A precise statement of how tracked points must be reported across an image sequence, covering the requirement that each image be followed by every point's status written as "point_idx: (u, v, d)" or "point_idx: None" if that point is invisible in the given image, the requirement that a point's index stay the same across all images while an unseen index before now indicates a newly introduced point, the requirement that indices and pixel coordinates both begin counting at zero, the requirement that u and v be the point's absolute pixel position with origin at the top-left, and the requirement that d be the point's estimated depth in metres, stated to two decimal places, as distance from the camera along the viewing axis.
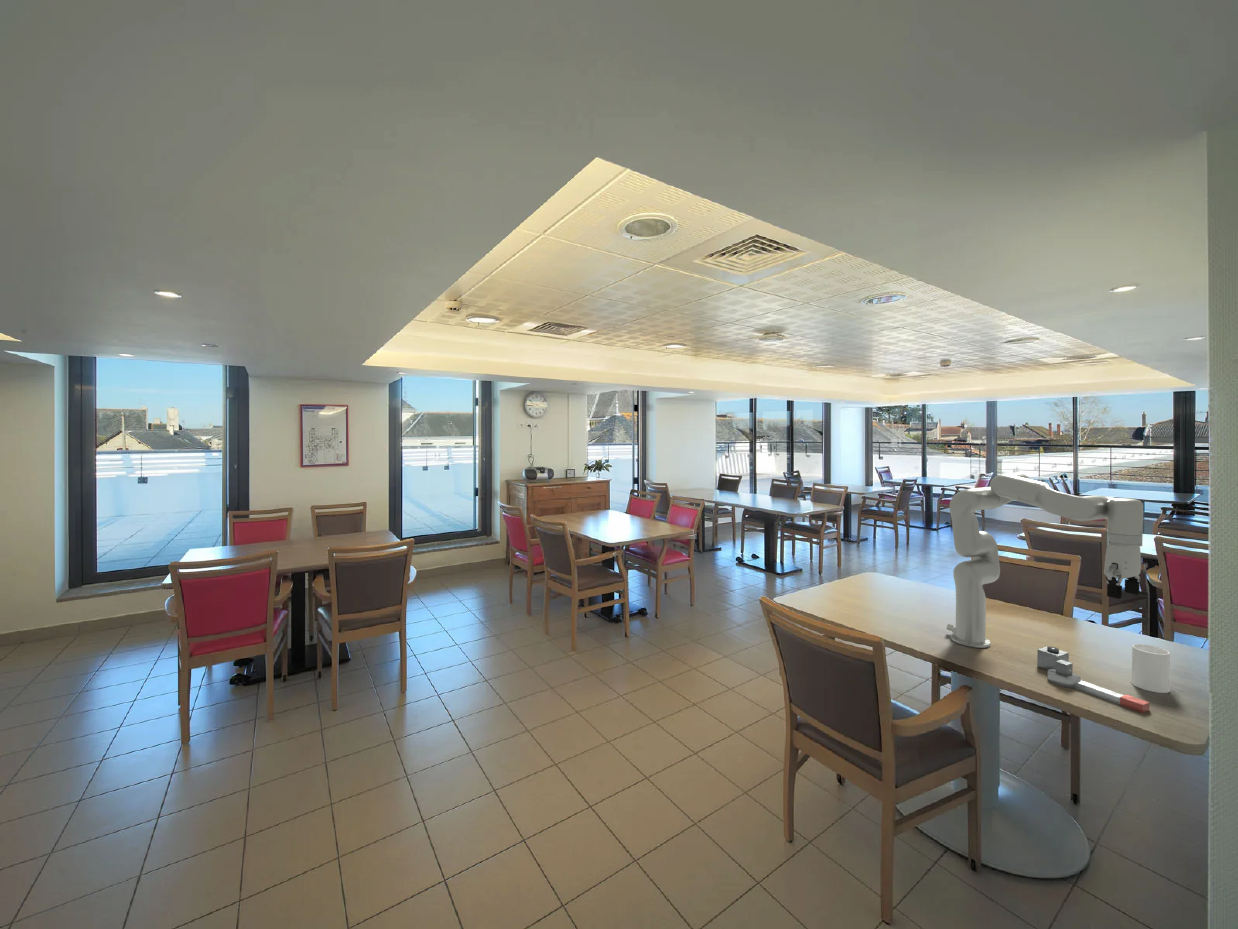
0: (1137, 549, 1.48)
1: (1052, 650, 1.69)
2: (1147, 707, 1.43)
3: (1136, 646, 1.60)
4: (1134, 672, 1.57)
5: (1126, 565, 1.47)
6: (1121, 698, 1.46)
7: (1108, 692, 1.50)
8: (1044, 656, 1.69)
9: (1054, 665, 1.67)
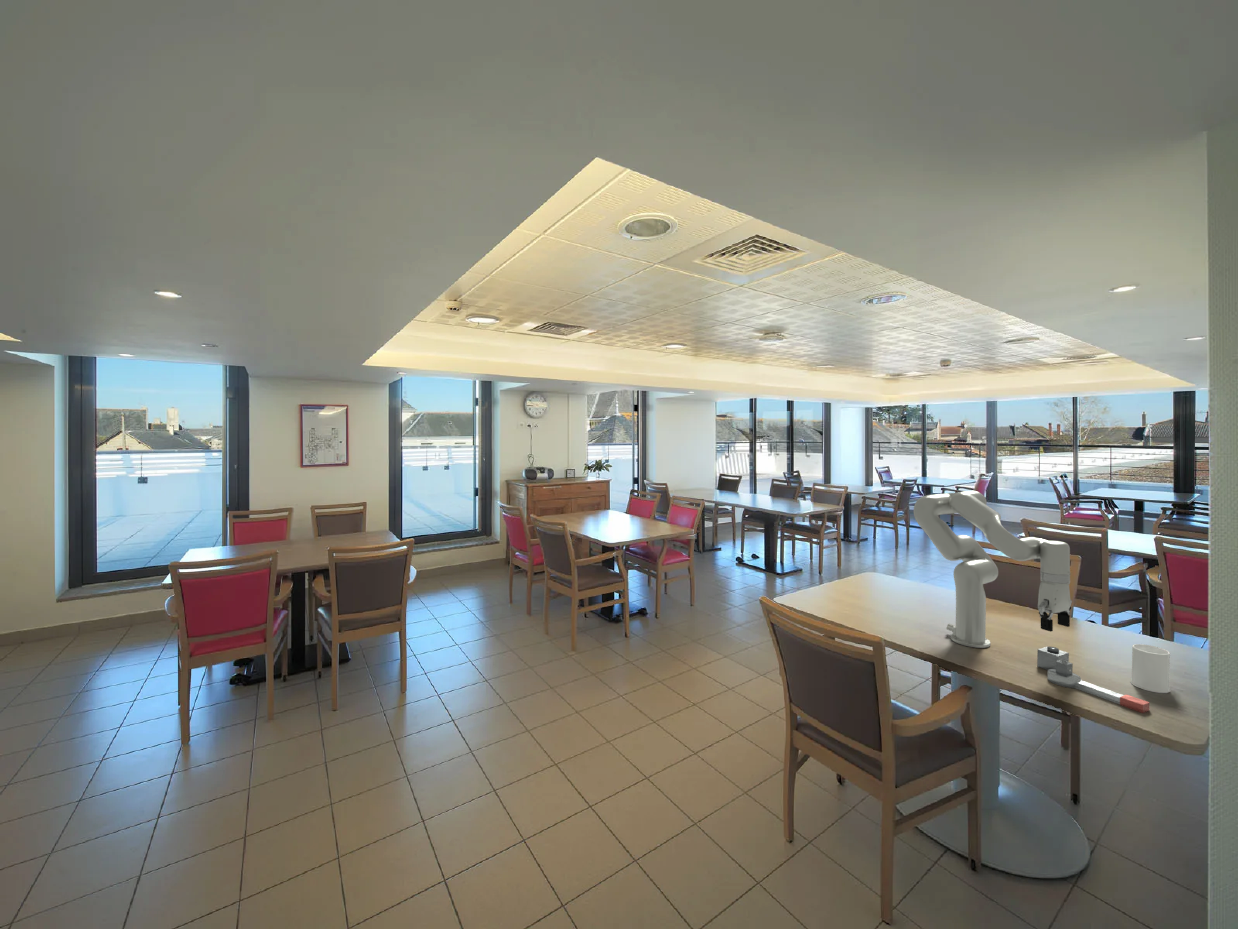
0: (1066, 587, 1.67)
1: (1052, 650, 1.69)
2: (1147, 707, 1.43)
3: (1136, 646, 1.60)
4: (1134, 672, 1.57)
5: (1056, 601, 1.65)
6: (1121, 698, 1.46)
7: (1108, 692, 1.50)
8: (1044, 656, 1.69)
9: (1054, 665, 1.67)
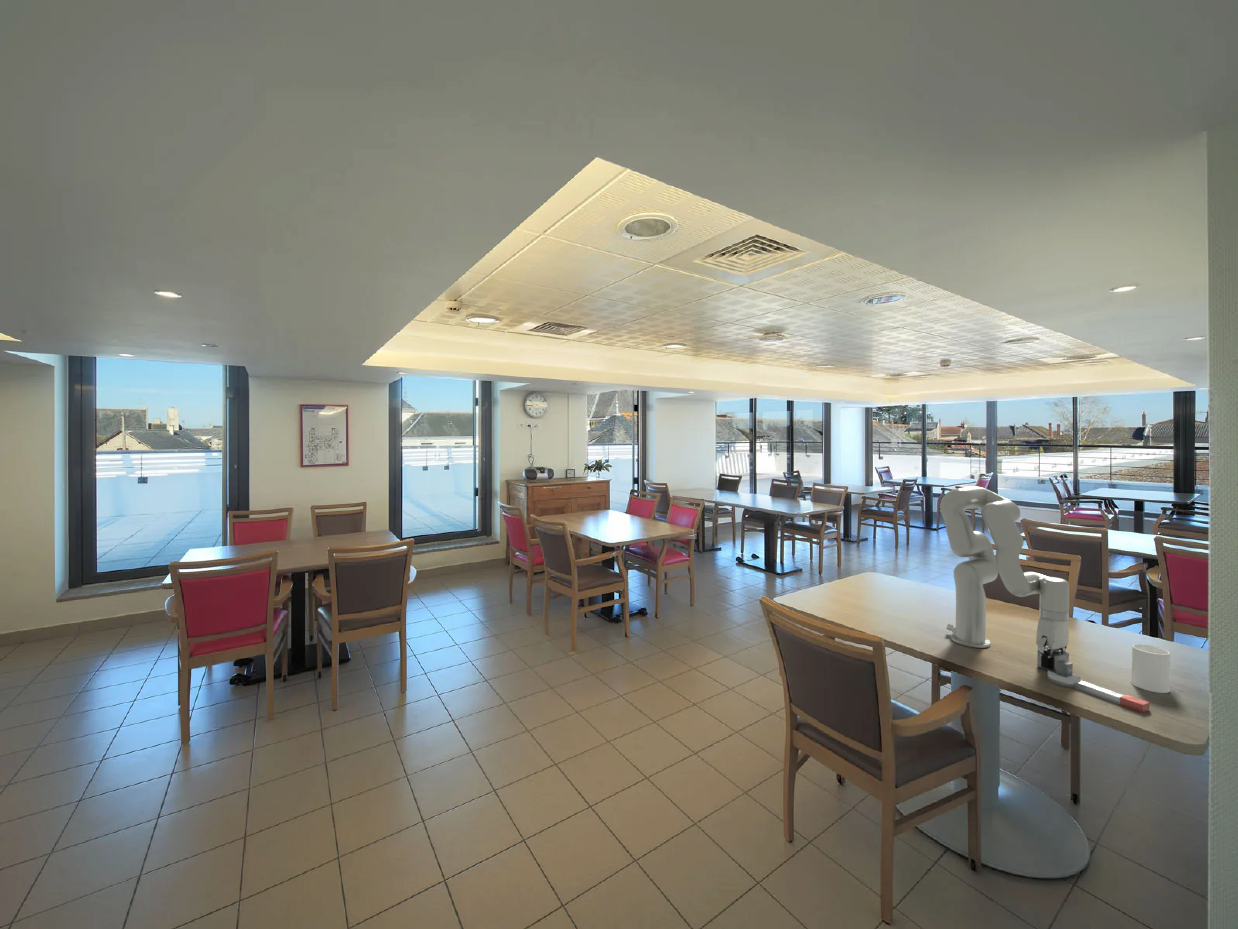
0: (1064, 624, 1.67)
1: None
2: (1147, 707, 1.43)
3: (1136, 646, 1.60)
4: (1134, 672, 1.57)
5: (1054, 639, 1.66)
6: (1121, 698, 1.46)
7: (1108, 692, 1.50)
8: None
9: (1054, 665, 1.67)
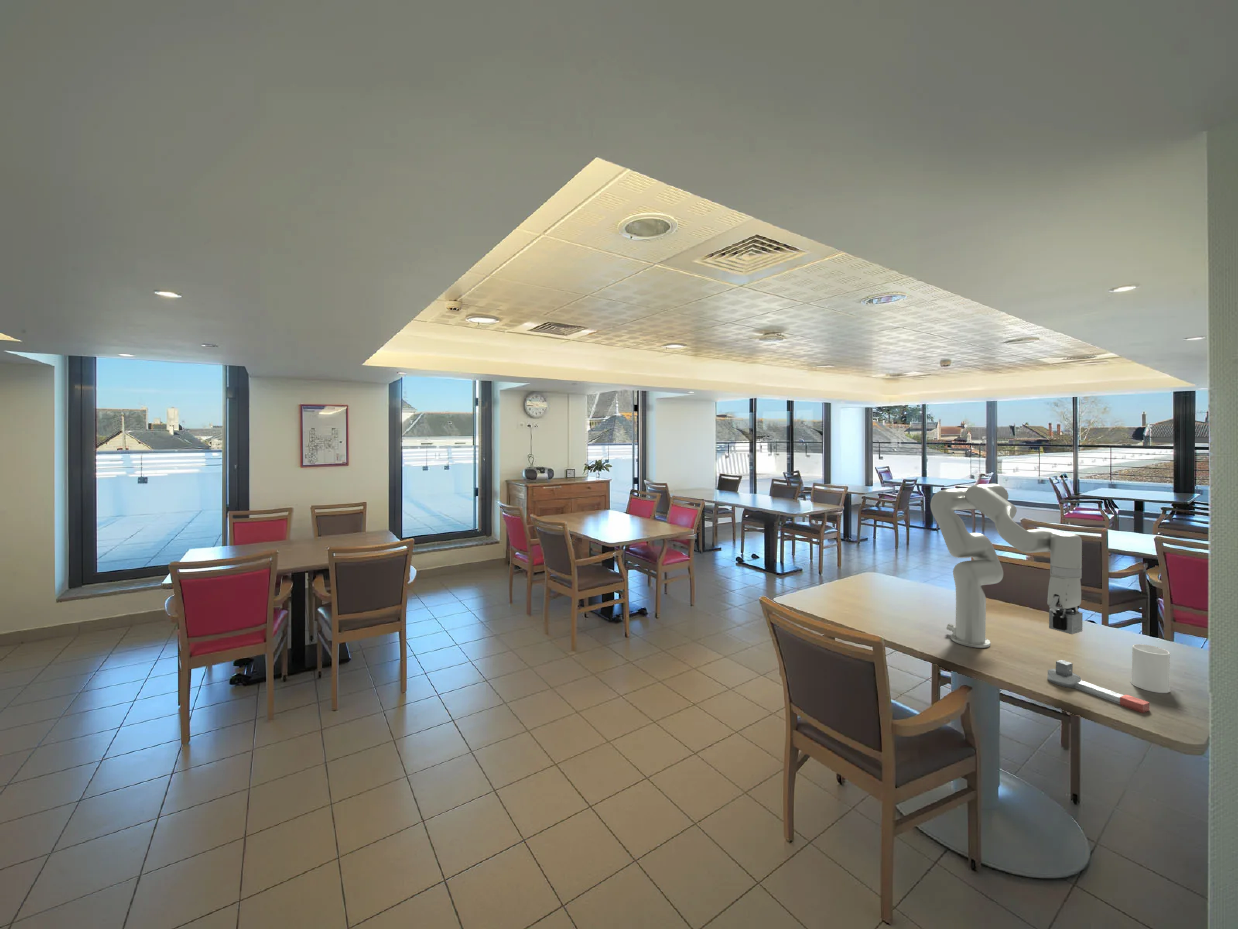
0: (1077, 581, 1.58)
1: None
2: (1147, 707, 1.43)
3: (1136, 646, 1.60)
4: (1134, 672, 1.57)
5: (1067, 597, 1.56)
6: (1121, 698, 1.46)
7: (1108, 692, 1.50)
8: None
9: (1067, 625, 1.57)
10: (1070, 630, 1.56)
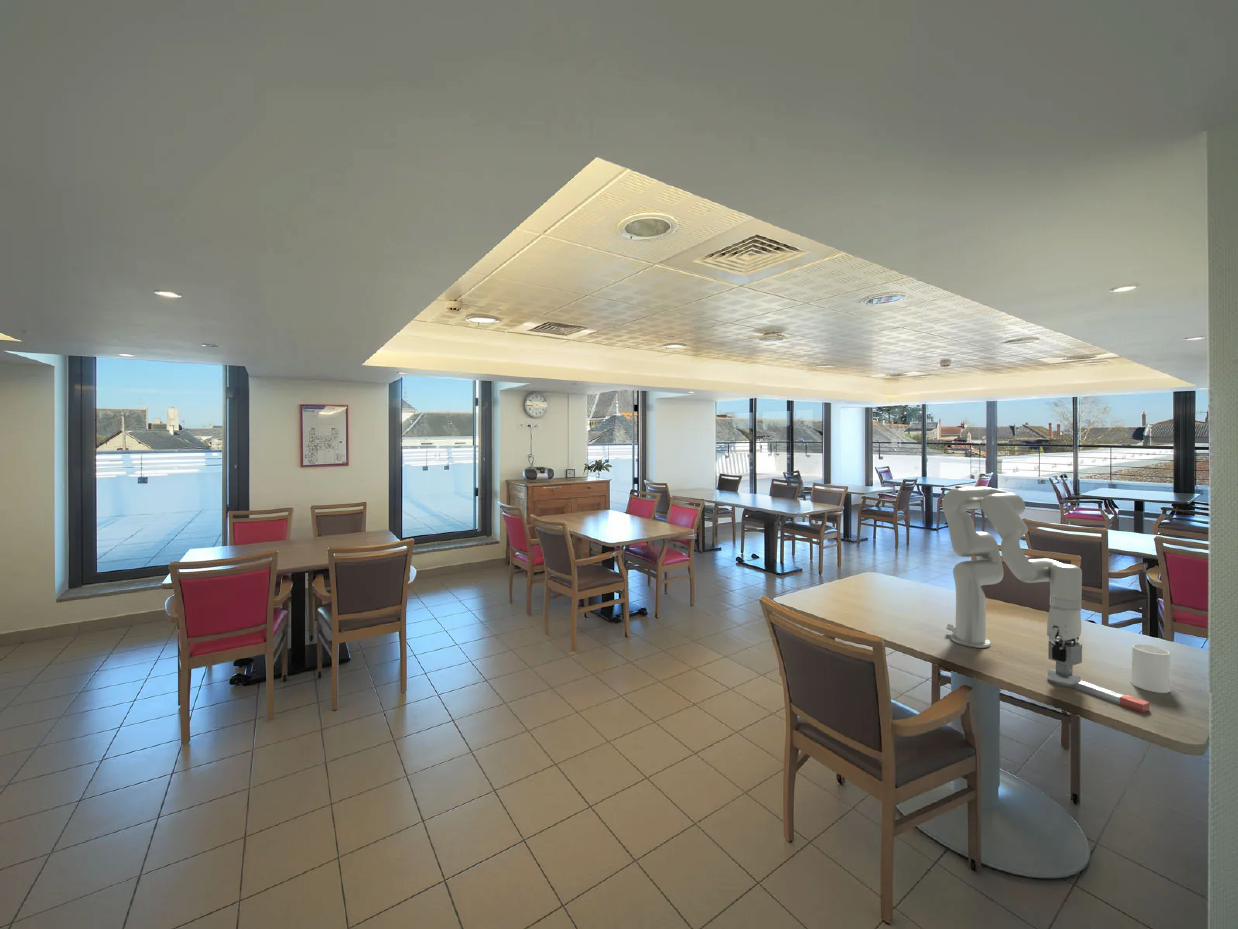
0: (1077, 613, 1.57)
1: None
2: (1147, 707, 1.43)
3: (1136, 646, 1.60)
4: (1134, 672, 1.57)
5: (1066, 629, 1.56)
6: (1121, 698, 1.46)
7: (1108, 692, 1.50)
8: None
9: (1067, 657, 1.57)
10: (1069, 662, 1.56)
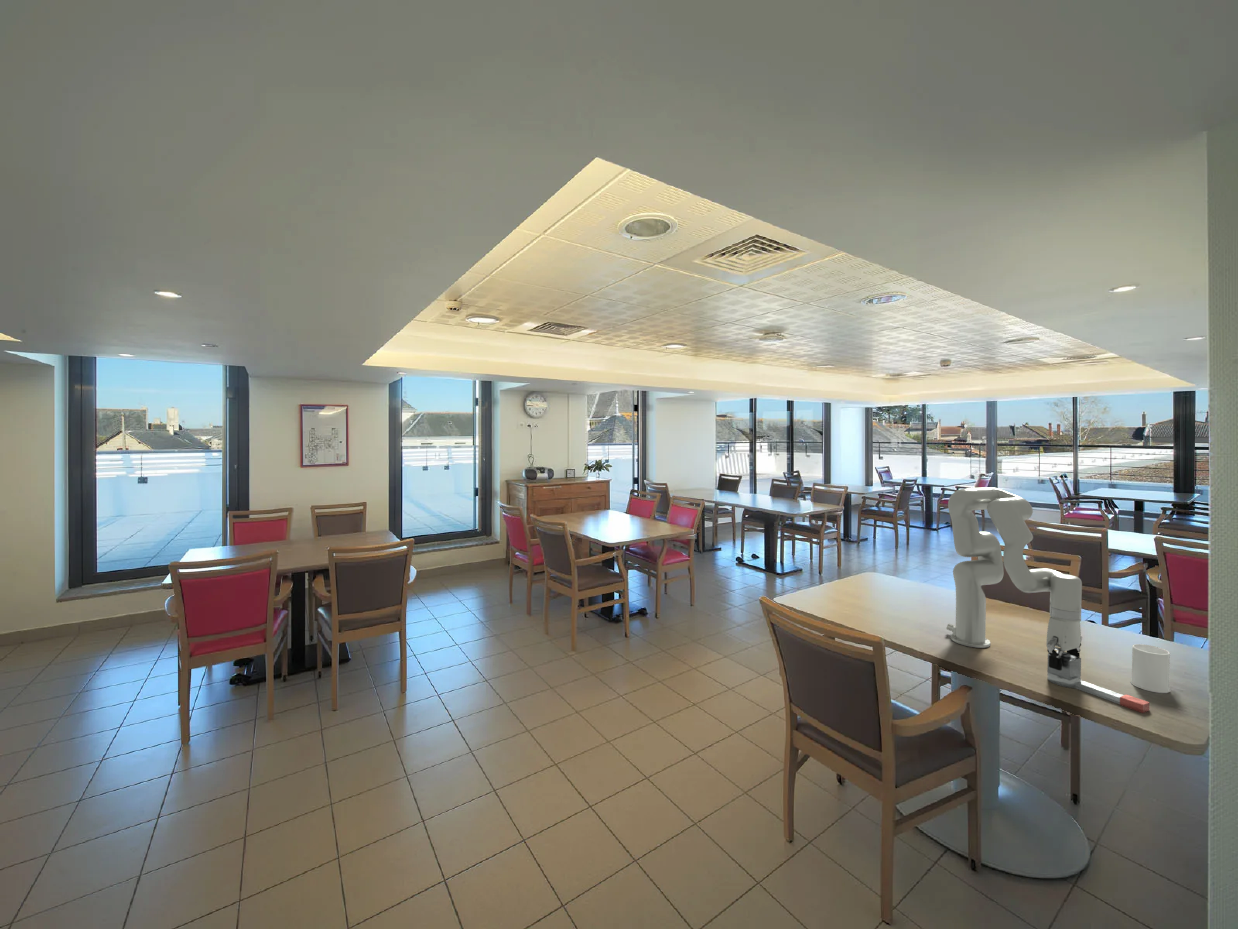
0: (1076, 623, 1.58)
1: (1063, 655, 1.59)
2: (1147, 707, 1.43)
3: (1136, 646, 1.60)
4: (1134, 672, 1.57)
5: (1066, 639, 1.56)
6: (1121, 698, 1.46)
7: (1108, 692, 1.50)
8: None
9: (1066, 671, 1.57)
10: (1068, 676, 1.57)
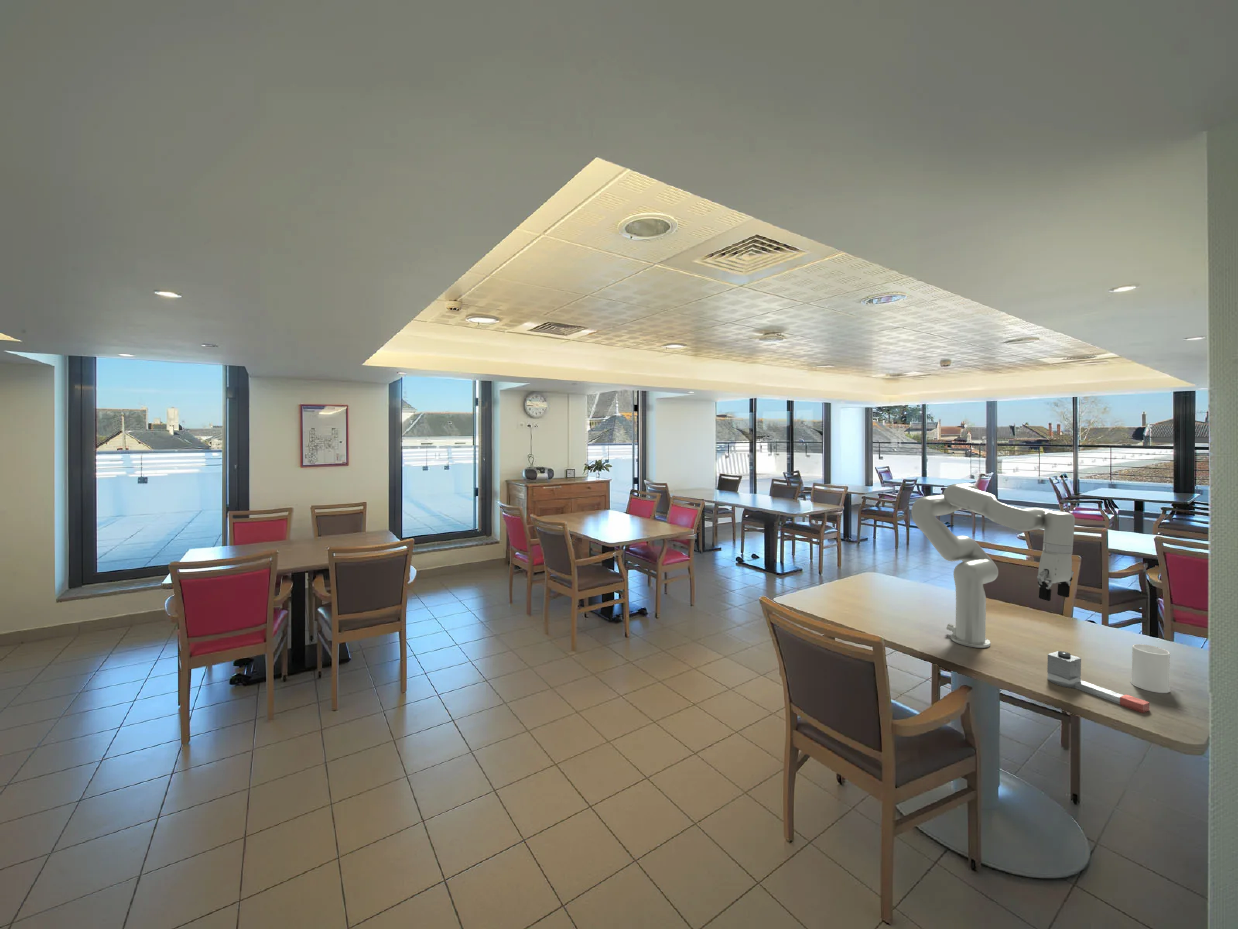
0: (1068, 557, 1.66)
1: (1063, 655, 1.59)
2: (1147, 707, 1.43)
3: (1136, 646, 1.60)
4: (1134, 672, 1.57)
5: (1056, 571, 1.65)
6: (1121, 698, 1.46)
7: (1108, 692, 1.50)
8: (1055, 661, 1.60)
9: (1065, 671, 1.57)
10: (1068, 676, 1.57)
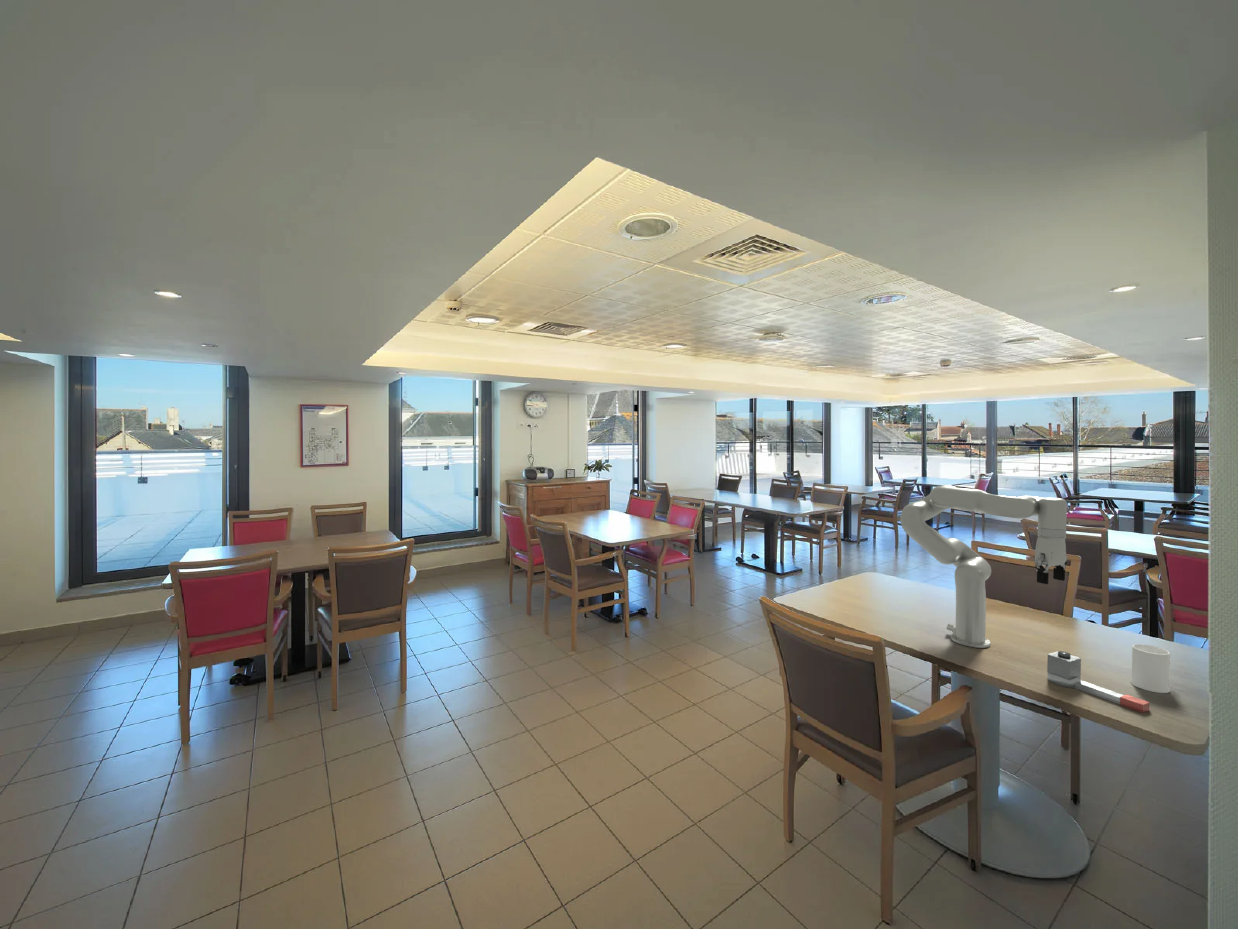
0: (1062, 541, 1.72)
1: (1063, 655, 1.59)
2: (1147, 707, 1.43)
3: (1136, 646, 1.60)
4: (1134, 672, 1.57)
5: (1052, 555, 1.71)
6: (1121, 698, 1.46)
7: (1108, 692, 1.50)
8: (1055, 661, 1.60)
9: (1065, 671, 1.57)
10: (1068, 676, 1.57)
